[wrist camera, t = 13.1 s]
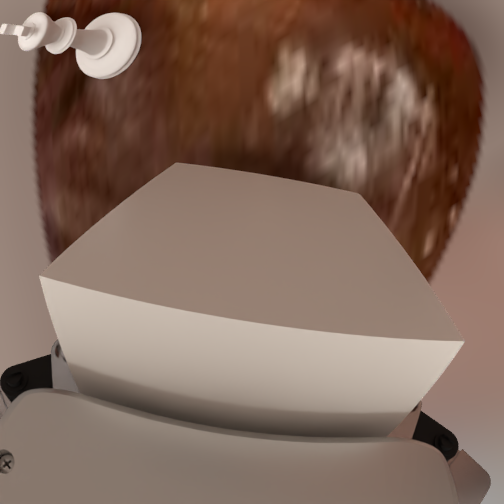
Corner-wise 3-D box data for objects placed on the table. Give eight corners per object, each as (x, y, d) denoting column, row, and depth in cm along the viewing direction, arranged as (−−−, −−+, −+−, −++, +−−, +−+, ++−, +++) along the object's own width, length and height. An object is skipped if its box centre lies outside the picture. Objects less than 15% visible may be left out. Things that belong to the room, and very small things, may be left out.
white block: (303, 358, 17) (311, 500, 9) (171, 337, 17) (125, 473, 9) (359, 193, 12) (464, 341, 4) (176, 162, 12) (39, 275, 4)
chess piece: (99, 8, 13) (0, -22, 4) (154, 22, 14) (63, -23, 5) (70, 69, 15) (-37, 74, 7) (121, 87, 16) (14, 94, 7)
